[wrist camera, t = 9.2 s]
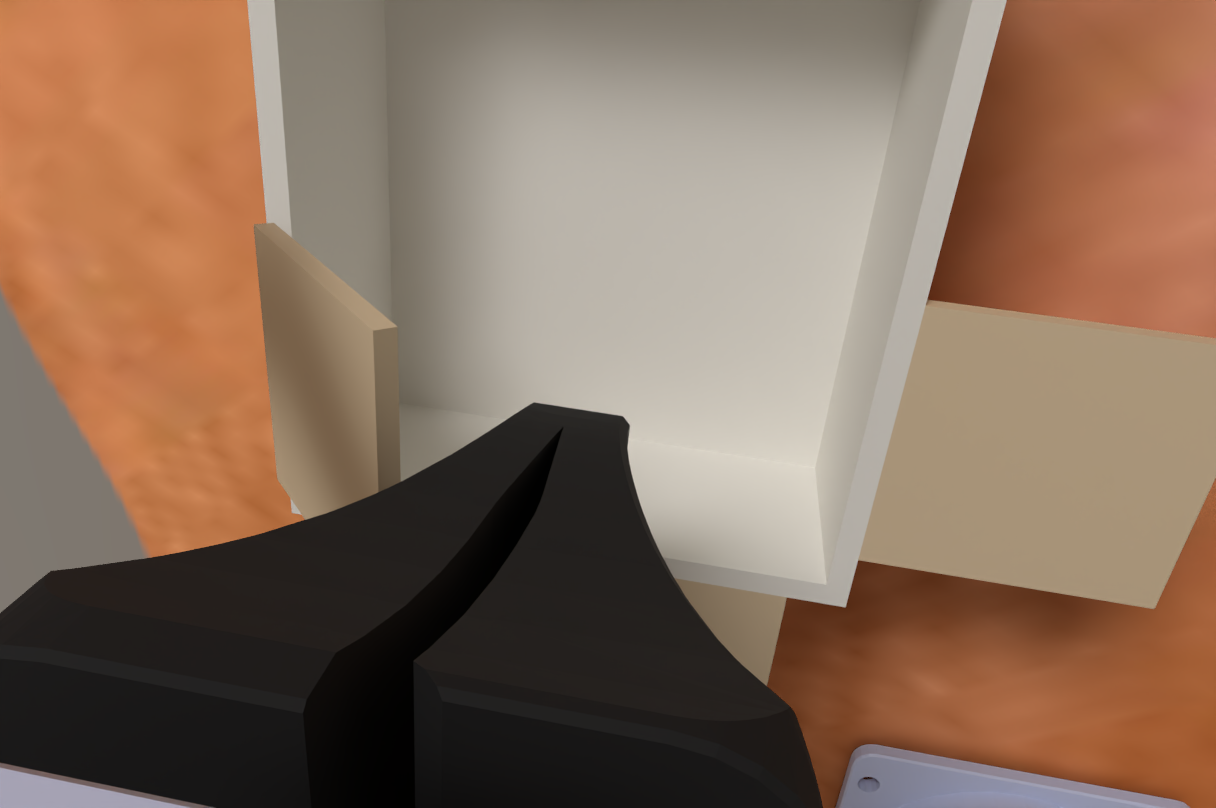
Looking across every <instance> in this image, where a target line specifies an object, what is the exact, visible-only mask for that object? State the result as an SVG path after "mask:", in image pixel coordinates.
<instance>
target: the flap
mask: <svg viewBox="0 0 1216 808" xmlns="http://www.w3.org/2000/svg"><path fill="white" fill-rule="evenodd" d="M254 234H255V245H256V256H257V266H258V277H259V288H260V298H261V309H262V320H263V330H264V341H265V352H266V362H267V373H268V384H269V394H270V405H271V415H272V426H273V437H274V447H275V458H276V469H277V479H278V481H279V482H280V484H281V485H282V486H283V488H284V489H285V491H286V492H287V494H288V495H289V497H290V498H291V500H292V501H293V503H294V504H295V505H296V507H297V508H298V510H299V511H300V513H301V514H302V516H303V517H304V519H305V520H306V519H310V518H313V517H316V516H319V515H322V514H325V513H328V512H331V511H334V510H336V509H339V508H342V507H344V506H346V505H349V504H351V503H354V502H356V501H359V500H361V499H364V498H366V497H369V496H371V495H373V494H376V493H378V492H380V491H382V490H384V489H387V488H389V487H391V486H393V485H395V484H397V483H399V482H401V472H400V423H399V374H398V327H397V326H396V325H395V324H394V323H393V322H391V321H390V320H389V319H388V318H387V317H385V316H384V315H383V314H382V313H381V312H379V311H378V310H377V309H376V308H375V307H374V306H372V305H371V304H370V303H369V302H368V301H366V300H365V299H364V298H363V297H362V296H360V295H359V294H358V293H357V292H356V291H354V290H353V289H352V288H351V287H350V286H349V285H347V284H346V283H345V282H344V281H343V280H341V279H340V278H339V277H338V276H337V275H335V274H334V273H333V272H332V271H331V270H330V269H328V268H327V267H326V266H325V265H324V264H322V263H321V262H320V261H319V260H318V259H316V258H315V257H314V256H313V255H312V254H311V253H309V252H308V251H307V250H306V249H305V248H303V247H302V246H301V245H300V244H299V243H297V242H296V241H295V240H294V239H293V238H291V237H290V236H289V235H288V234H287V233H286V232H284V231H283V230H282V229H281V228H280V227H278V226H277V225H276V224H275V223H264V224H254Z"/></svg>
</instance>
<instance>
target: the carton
mask: <svg viewBox="0 0 1216 808" xmlns="http://www.w3.org/2000/svg"><path fill="white" fill-rule="evenodd" d="M1006 1H1007V0H247V2H248V13H249V25H250V36H251V48H252V59H253V71H254V82H255V94H256V105H257V117H258V128H259V140H260V151H261V163H262V174H263V186H264V197H265V209H266V220H267V223H275V224H276V225H277V226H278V227H280V228H281V229H282V230H283V231H284V232H286V233H287V234H288V235H289V236H290V237H291V238H293V239H294V240H295V241H296V242H297V243H299V244H300V245H301V246H302V247H303V248H305V249H306V250H307V251H308V252H309V253H311V254H312V255H313V256H314V257H315V258H316V259H318V260H319V261H320V262H321V263H322V264H324V265H325V266H326V267H327V268H328V269H330V270H331V271H332V272H333V273H334V274H335V275H337V276H338V277H339V278H340V279H341V280H343V281H344V282H345V283H346V284H347V285H349V286H350V287H351V288H352V289H353V290H354V291H356V292H357V293H358V294H359V295H360V296H362V297H363V298H364V299H365V300H366V301H368V302H369V303H370V304H371V305H372V306H374V307H375V308H376V309H377V310H378V311H379V312H381V313H382V314H383V315H384V316H385V317H387V318H388V319H389V320H390V321H391V322H393V323H394V324H395V325H396V326H397V327H398V374H399V423H400V472H401V481H403V480H405V479H407V478H409V477H411V476H412V475H414V474H416V473H418V472H420V471H422V470H424V469H425V468H427V467H429V466H431V465H433V464H435V463H436V462H438V461H440V460H442V459H444V458H446V457H447V456H449V455H451V454H453V453H455V452H456V451H458V450H459V449H461V448H463V447H464V446H466V445H467V444H469V443H471V442H472V441H474V440H475V439H477V438H479V437H480V436H482V435H483V434H485V433H487V432H488V431H490V430H491V429H493V428H494V427H496V426H498V425H499V424H501V423H502V422H504V421H505V420H507V419H508V418H510V417H511V416H513V415H514V414H516V413H517V412H519V411H520V410H522V409H523V408H525V407H527V406H528V405H530V404H532V403H534V402H535V403H541V404H548V405H554V406H561V407H567V408H574V409H580V410H587V411H593V412H600V413H606V414H613V415H619V416H623V417H624V418H625V419H626V421H627V422H628V423H629V425H630V430H629V439H628V448H627V449H628V457H629V463H630V468H631V473H632V477H633V481H634V484H635V488H636V491H637V495H638V499H639V502H640V505H641V507H642V510H643V513H644V516H645V518H646V521H647V523H648V526H649V528H650V531H651V533H652V536H653V538H654V540H655V542H656V545H657V547H658V549H659V551H660V553H661V555H662V557H663V559H664V560H665V562H666V564H667V566H668V568H669V570H670V572H671V573H672V575H673V577H674V578H675V580H676V582H677V583H678V585H679V586H680V588H681V590H682V591H683V593H684V595H685V596H686V598H687V599H688V601H689V602H690V603H691V605H692V606H693V607H694V609H695V610H696V611H697V613H698V614H699V615H700V617H701V618H702V619H703V621H704V622H705V623H706V624H707V626H708V627H709V628H710V630H711V631H712V632H713V634H714V635H715V636H716V638H717V639H718V640H719V641H720V642H721V643H722V644H723V645H724V646H725V647H726V649H727V650H728V651H729V652H730V653H731V654H732V655H733V656H734V657H735V658H736V659H737V660H738V661H739V662H740V663H741V664H742V665H743V666H744V667H745V668H746V669H748V670H749V671H750V672H751V673H752V674H753V675H754V676H756V677H757V678H758V679H759V680H760V681H761V682H762V683H764V684H765V685H766V686H767V683H768V679H769V674H770V670H771V665H772V661H773V657H774V652H775V648H776V643H777V639H778V635H779V630H780V626H781V621H782V617H783V612H784V608H785V604H786V599H787V598H793V599H799V600H805V601H811V602H817V603H822V604H828V605H834V606H840V607H846V604H847V600H848V596H849V593H850V589H851V585H852V581H853V578H854V574H855V570H856V566H857V562H858V560H860V561H866V562H872V563H878V564H884V565H891V566H897V567H903V568H909V569H915V570H921V571H927V572H933V573H939V574H945V575H951V576H957V577H963V578H969V579H975V580H981V581H987V582H994V583H1000V584H1006V585H1012V586H1018V587H1024V588H1030V589H1036V590H1042V591H1048V592H1054V593H1060V594H1066V595H1072V596H1078V597H1084V598H1090V599H1096V600H1103V601H1109V602H1115V603H1121V604H1127V605H1133V606H1139V607H1145V608H1151V609H1155V607H1156V604H1157V602H1158V600H1159V598H1160V596H1161V594H1162V592H1163V589H1164V587H1165V585H1166V583H1167V581H1168V579H1169V577H1170V574H1171V572H1172V570H1173V568H1174V566H1175V564H1176V562H1177V559H1178V557H1179V555H1180V553H1181V551H1182V549H1183V546H1184V544H1185V542H1186V540H1187V538H1188V536H1189V534H1190V531H1191V529H1192V527H1193V525H1194V523H1195V521H1196V519H1197V516H1198V514H1199V512H1200V510H1201V508H1202V506H1203V503H1204V501H1205V499H1206V497H1207V495H1208V493H1209V491H1210V488H1211V486H1212V484H1213V482H1214V480H1215V478H1216V338H1209V337H1202V336H1194V335H1187V334H1179V333H1172V332H1165V331H1157V330H1150V329H1142V328H1135V327H1127V326H1120V325H1112V324H1105V323H1098V322H1090V321H1083V320H1075V319H1068V318H1060V317H1053V316H1045V315H1038V314H1031V313H1023V312H1016V311H1008V310H1001V309H993V308H986V307H979V306H971V305H964V304H956V303H949V302H941V301H934V300H927V299H928V295H929V291H930V287H931V284H932V280H933V276H934V272H935V269H936V265H937V261H938V257H939V254H940V250H941V246H942V242H943V238H944V235H945V231H946V227H947V223H948V220H949V216H950V212H951V208H952V205H953V201H954V197H955V193H956V189H957V186H958V182H959V178H960V174H961V171H962V167H963V163H964V159H965V156H966V152H967V148H968V144H969V140H970V137H971V133H972V129H973V125H974V122H975V118H976V114H977V110H978V107H979V103H980V99H981V95H982V91H983V88H984V84H985V80H986V76H987V73H988V69H989V65H990V61H991V58H992V54H993V50H994V46H995V42H996V39H997V35H998V31H999V27H1000V24H1001V20H1002V16H1003V12H1004V9H1005V5H1006ZM291 507H292V513H295V514H301V513H300V511H299V510H298V508H297V507H296V505H295V504H294V503H293V501H292V500H291ZM301 515H302V514H301Z"/></svg>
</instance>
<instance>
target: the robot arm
mask: <svg viewBox="0 0 1216 808" xmlns="http://www.w3.org/2000/svg"><path fill="white" fill-rule="evenodd" d="M629 430H630V425H629V423H628V422H627V421H626V419H625V418H624V417H623V416H619V415H613V414H606V413H600V412H593V411H587V410H580V409H574V408H567V407H561V406H554V405H548V404H541V403H535V402H534V403H532V404H530V405H528V406H527V407H525V408H523V409H522V410H520V411H519V412H517V413H516V414H514V415H513V416H511V417H510V418H508V419H507V420H505V421H504V422H502V423H501V424H499V425H498V426H496V427H494V428H493V429H491V430H490V431H488V432H487V433H485V434H483V435H482V436H480V437H479V438H477V439H475V440H474V441H472V442H471V443H469V444H467V445H466V446H464V447H463V448H461V449H459V450H458V451H456V452H455V453H453V454H451V455H449V456H447V457H446V458H444V459H442V460H440V461H438V462H436V463H435V464H433V465H431V466H429V467H427V468H425V469H424V470H422V471H420V472H418V473H416V474H414V475H412V476H411V477H409V478H407V479H405V480H403V481H401V482H399V483H397V484H395V485H393V486H391V487H389V488H387V489H384V490H382V491H380V492H378V493H376V494H373V495H371V496H369V497H366V498H364V499H361V500H359V501H356V502H354V503H351V504H349V505H346V506H344V507H342V508H339V509H336V510H334V511H331V512H328V513H325V514H322V515H319V516H316V517H313V518H310V519H306V520H303V521H300V522H297V523H294V524H291V525H287V526H284V527H281V528H278V529H275V530H272V531H268V532H265V533H262V534H258V535H255V536H251V537H247V538H243V539H239V540H235V541H230V542H226V543H222V544H218V545H213V546H209V547H204V548H199V549H194V550H190V551H185V552H180V553H175V554H169V555H164V556H158V557H153V558H146V559H139V560H131V561H124V562H117V563H110V564H103V565H96V566H89V567H82V568H75V569H66V570H57V571H50V572H49V573H48V574H47V575H45V576H44V577H43V578H42V579H40V580H39V581H38V582H37V583H36V584H34V585H33V586H32V587H31V588H30V589H28V590H27V591H26V592H25V593H24V594H22V596H20V597H19V598H18V599H17V600H15V601H14V602H13V603H12V604H11V605H9V606H8V607H7V608H6V609H5V610H4V611H2V612H1V613H0V808H823V806H822V801H821V797H820V792H819V788H818V784H817V780H816V777H815V773H814V770H813V766H812V763H811V759H810V756H809V753H808V750H807V747H806V744H805V741H804V738H803V734H802V731H801V728H800V726H799V723H798V720H797V717H796V715H795V713H794V711H793V710H792V709H791V707H790V706H789V705H787V704H786V703H785V702H784V701H783V700H782V699H781V698H779V697H778V696H777V695H776V694H775V693H774V692H773V691H772V690H770V689H769V688H768V687H767V686H766V685H765V684H764V683H762V682H761V681H760V680H759V679H758V678H757V677H756V676H754V675H753V674H752V673H751V672H750V671H749V670H748V669H746V668H745V667H744V666H743V665H742V664H741V663H740V662H739V661H738V660H737V659H736V658H735V657H734V656H733V655H732V654H731V653H730V652H729V651H728V650H727V649H726V647H725V646H724V645H723V644H722V643H721V642H720V641H719V640H718V639H717V638H716V636H715V635H714V634H713V632H712V631H711V630H710V628H709V627H708V626H707V624H706V623H705V622H704V621H703V619H702V618H701V617H700V615H699V614H698V613H697V611H696V610H695V609H694V607H693V606H692V605H691V603H690V602H689V601H688V599H687V598H686V596H685V595H684V593H683V591H682V590H681V588H680V586H679V585H678V583H677V582H676V580H675V578H674V577H673V575H672V573H671V572H670V570H669V568H668V566H667V564H666V562H665V560H664V559H663V557H662V555H661V553H660V551H659V549H658V547H657V545H656V542H655V540H654V538H653V536H652V533H651V531H650V528H649V526H648V523H647V521H646V518H645V516H644V513H643V510H642V507H641V505H640V502H639V499H638V495H637V491H636V488H635V484H634V481H633V477H632V473H631V468H630V463H629V457H628V449H627V448H628V439H629ZM864 777H872V779H863V778H864ZM836 808H1190V807H1189V806H1188V805H1187V804H1185V803H1183V802H1180V801H1177V800H1172V799H1167V798H1162V797H1156V796H1151V795H1146V794H1140V793H1135V792H1129V791H1124V790H1119V789H1113V788H1108V787H1102V786H1097V785H1092V784H1086V783H1081V782H1076V781H1070V780H1065V779H1059V778H1054V777H1049V776H1043V775H1038V774H1032V773H1027V772H1022V771H1016V770H1011V769H1005V768H1000V767H995V766H989V765H984V764H979V763H973V762H968V761H962V760H957V759H952V758H946V757H941V756H935V755H930V754H925V753H919V752H914V751H909V750H903V749H898V748H892V747H887V746H882V745H876V744H866V745H862V746H860V747H858V748H857V749H855V750H854V751H853V753H852V755H851V757H850V761H849V764H848V768H847V771H846V774H845V778H844V781H843V784H842V788H841V791H840V794H839V798H838V801H837V805H836Z"/></svg>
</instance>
